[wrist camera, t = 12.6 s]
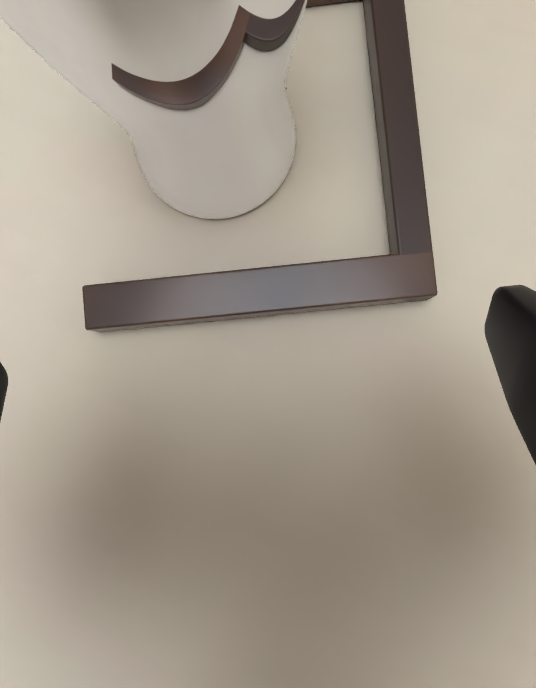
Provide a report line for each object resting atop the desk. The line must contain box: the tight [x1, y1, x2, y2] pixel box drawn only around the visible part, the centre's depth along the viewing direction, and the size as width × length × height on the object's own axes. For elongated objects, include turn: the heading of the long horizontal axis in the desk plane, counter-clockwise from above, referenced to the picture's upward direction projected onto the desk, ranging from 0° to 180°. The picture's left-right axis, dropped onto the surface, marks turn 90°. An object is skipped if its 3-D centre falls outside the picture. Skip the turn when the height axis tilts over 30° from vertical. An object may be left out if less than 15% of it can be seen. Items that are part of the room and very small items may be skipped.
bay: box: [83, 0, 437, 332], centre depth 18 cm, size 12×13×1 cm
